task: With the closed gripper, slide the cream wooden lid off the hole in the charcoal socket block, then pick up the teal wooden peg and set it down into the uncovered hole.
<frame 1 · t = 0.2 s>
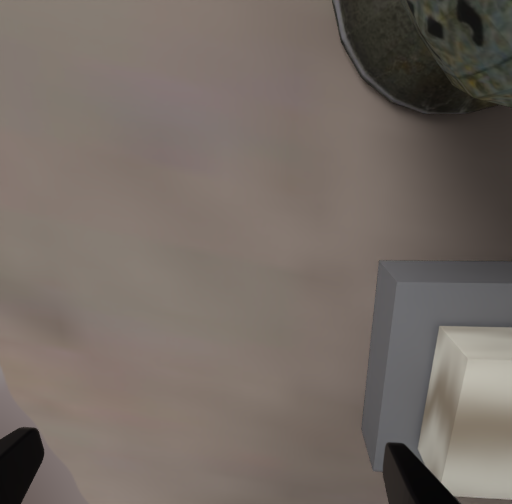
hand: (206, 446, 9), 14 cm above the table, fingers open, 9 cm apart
socket block: (471, 355, 23), on the table
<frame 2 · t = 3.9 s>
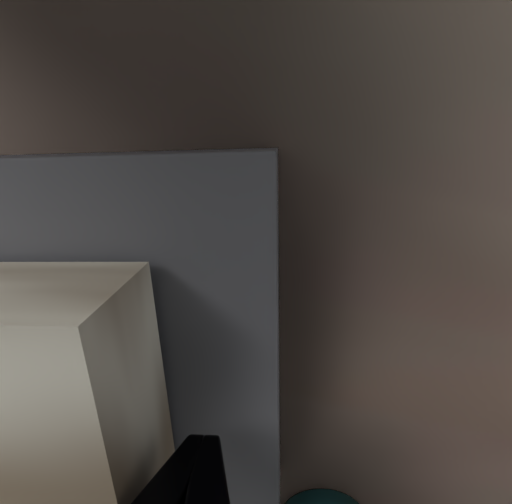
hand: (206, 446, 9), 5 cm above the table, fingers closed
socket block: (105, 334, 13), on the table
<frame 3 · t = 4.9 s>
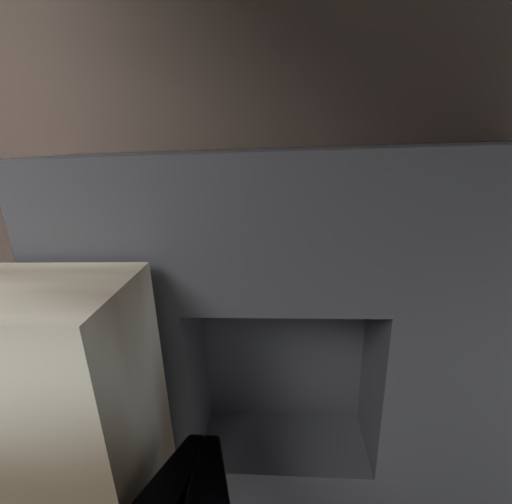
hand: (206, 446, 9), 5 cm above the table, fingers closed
socket block: (282, 336, 13), on the table
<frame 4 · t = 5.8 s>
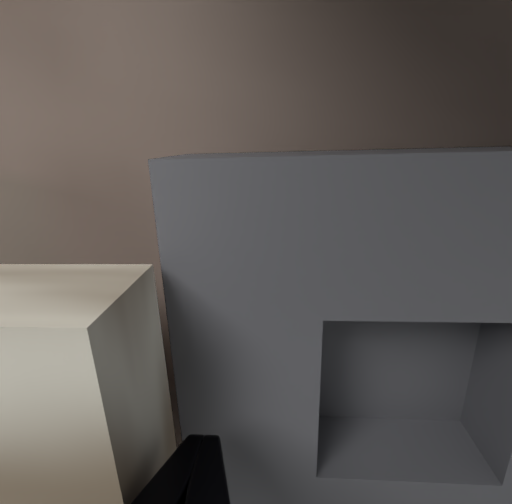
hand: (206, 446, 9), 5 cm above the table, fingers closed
socket block: (382, 339, 13), on the table
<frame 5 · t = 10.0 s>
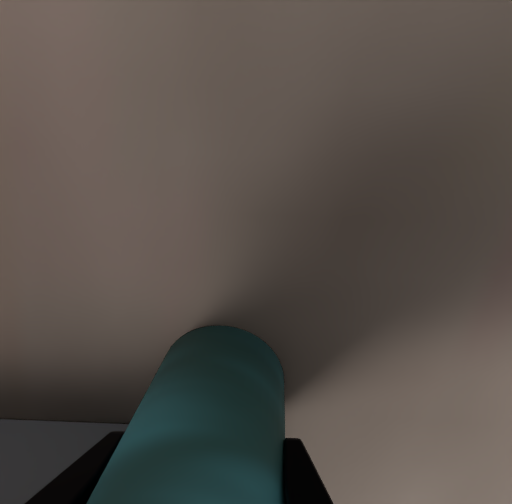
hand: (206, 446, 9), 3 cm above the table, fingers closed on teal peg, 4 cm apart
teal peg: (222, 379, 11), on the table, touching gripper
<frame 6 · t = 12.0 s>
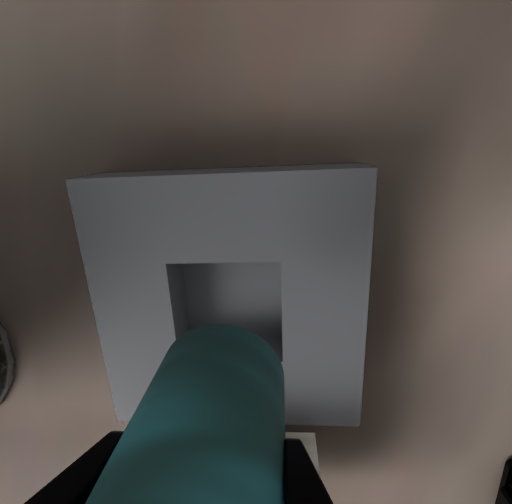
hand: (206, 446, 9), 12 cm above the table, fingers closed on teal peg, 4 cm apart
socket block: (235, 286, 20), on the table
teal peg: (222, 377, 11), point 9 cm above the table, touching gripper
when the fingers open (5 cm above the table, at t = 14.1 s): teal peg drops 1 cm, resting on socket block.
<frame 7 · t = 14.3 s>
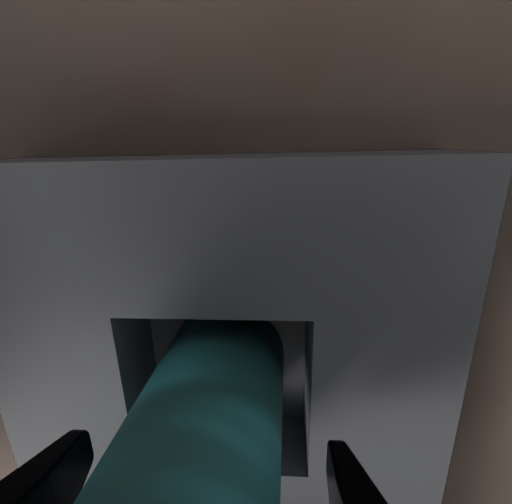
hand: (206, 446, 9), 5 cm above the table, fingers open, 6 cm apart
socket block: (231, 337, 13), on the table
teal peg: (229, 352, 12), point 1 cm above the table, touching socket block
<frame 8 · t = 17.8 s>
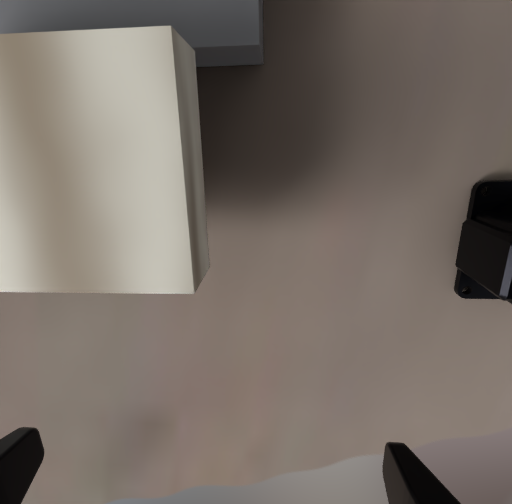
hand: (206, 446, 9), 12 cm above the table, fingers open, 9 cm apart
sliding lid: (83, 174, 13), point 5 cm above the table, slide at 11.7 cm
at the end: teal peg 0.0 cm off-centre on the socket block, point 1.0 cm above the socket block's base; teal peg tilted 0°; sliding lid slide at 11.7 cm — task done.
